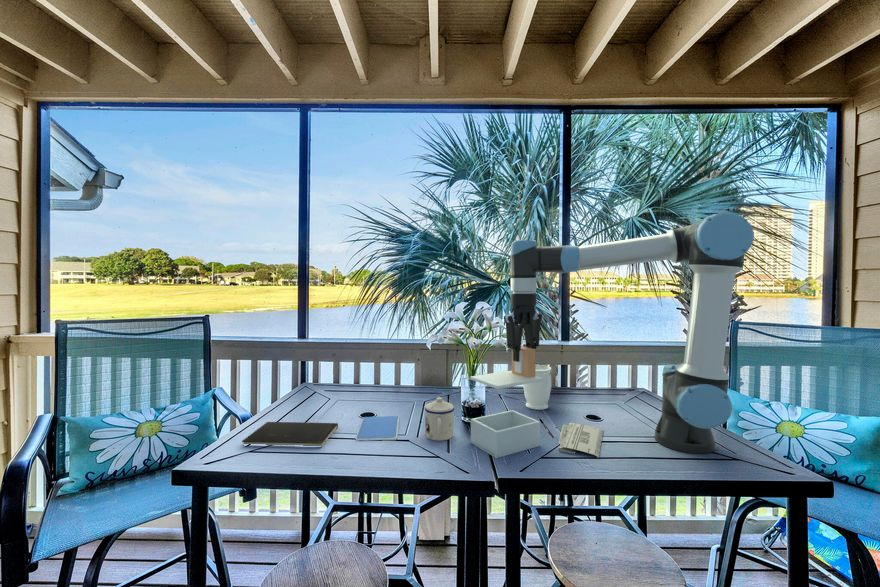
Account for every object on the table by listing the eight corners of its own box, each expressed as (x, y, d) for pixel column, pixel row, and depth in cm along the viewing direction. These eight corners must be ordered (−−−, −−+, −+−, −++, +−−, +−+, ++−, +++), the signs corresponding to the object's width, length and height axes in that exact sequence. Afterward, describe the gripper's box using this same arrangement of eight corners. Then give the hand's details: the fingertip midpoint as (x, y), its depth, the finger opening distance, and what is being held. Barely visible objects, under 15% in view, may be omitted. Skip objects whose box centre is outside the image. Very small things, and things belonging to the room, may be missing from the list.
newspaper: (562, 427, 133) (563, 419, 133) (602, 437, 128) (603, 429, 128) (551, 453, 113) (552, 444, 112) (597, 466, 108) (598, 457, 107)
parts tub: (540, 445, 116) (540, 421, 116) (496, 458, 108) (496, 432, 108) (512, 432, 127) (512, 410, 126) (470, 442, 119) (470, 419, 118)
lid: (543, 380, 116) (543, 350, 115) (497, 389, 107) (497, 356, 107) (513, 372, 126) (513, 344, 126) (470, 379, 118) (470, 349, 118)
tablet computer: (397, 442, 120) (397, 437, 120) (354, 443, 119) (354, 438, 119) (399, 419, 140) (399, 415, 140) (362, 420, 139) (362, 416, 139)
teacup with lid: (425, 429, 128) (425, 393, 128) (453, 430, 128) (454, 393, 128) (423, 445, 116) (423, 405, 116) (454, 445, 116) (454, 405, 116)
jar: (554, 411, 147) (554, 370, 146) (525, 411, 147) (526, 370, 147) (547, 402, 158) (547, 364, 157) (520, 402, 158) (520, 364, 157)
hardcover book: (321, 450, 114) (321, 442, 114) (242, 448, 115) (241, 440, 115) (338, 429, 130) (338, 422, 130) (268, 428, 131) (268, 421, 131)
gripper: (534, 291, 127) (534, 366, 127) (494, 292, 118) (494, 372, 119) (552, 292, 120) (552, 370, 121) (510, 293, 112) (510, 377, 113)
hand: (523, 371), depth 120 cm, fingers closed on lid, 3 cm apart
